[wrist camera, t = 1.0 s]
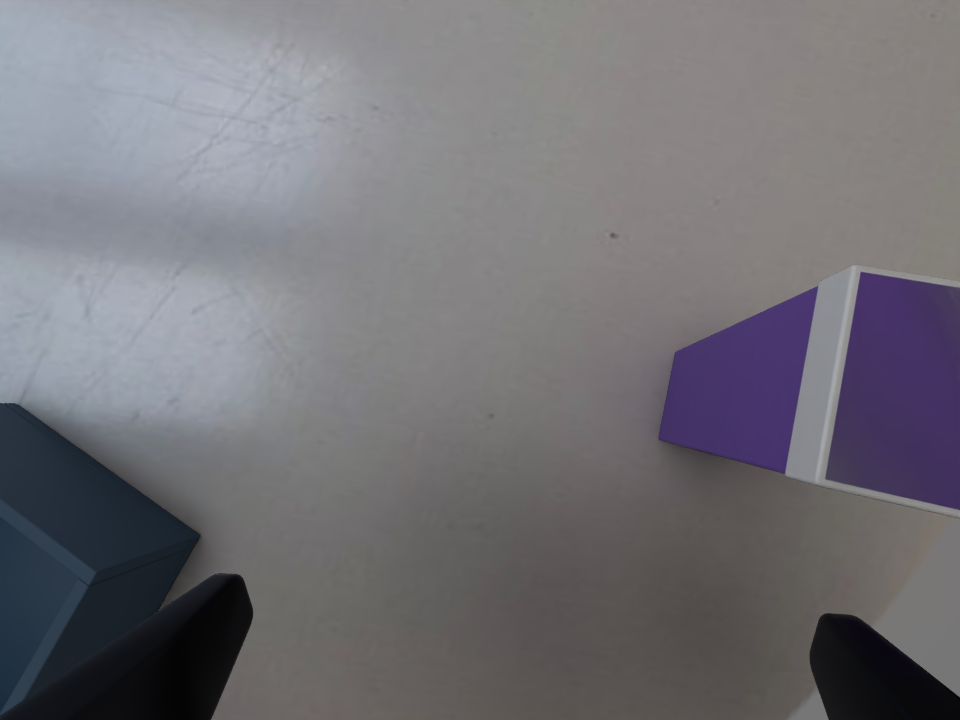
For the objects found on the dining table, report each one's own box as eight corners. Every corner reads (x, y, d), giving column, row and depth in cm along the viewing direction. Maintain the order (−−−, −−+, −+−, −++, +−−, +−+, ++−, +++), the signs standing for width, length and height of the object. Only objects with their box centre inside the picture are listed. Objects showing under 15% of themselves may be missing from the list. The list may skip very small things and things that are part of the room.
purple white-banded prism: (730, 457, 21) (1015, 531, 8) (656, 440, 21) (815, 484, 9) (747, 364, 21) (1049, 294, 8) (674, 349, 22) (853, 262, 9)
